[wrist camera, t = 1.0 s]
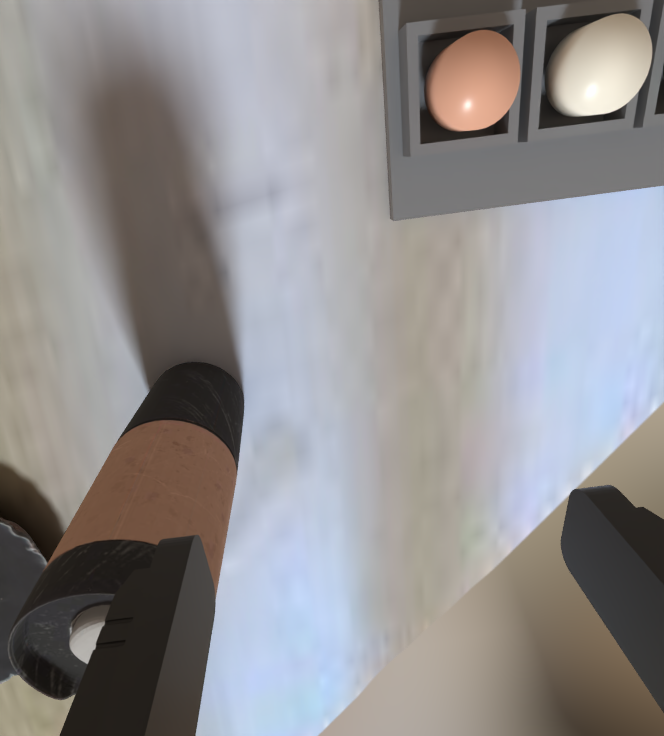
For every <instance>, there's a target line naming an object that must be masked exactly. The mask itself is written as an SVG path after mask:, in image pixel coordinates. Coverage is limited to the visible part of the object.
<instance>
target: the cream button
mask: <svg viewBox="0 0 664 736" xmlns="http://www.w3.org/2000/svg"><path fill="white" fill-rule="evenodd" d="M651 60H652V42H651V37H650V34H649V32H648V30H647V28H646V26H645V25H644V24H643V23H642V21H640V20H639V19H638V18H636V17H635V16H632V15H629V14H624V13H621V14H613V15H610V16H607V17H605V18H602V19H600V20H597V21H595V22H593V23H590V24H588V25H585V26H583V27H581V28H578V29H576V30H574V31H572V32H571V33H569V34H568V35H567V36H566V37H565V38H563V39H562V41H561V42H560V43H559V44H558V45H557V47H556V48H555V50H554V51H553V53H552V55H551V57H550V59H549V62H548V65H547V68H546V73H545V90H546V95H547V98H548V100H549V102H550V104H551V105H552V107H553V108H554V109H555V110H556V111H557V112H559V113H560V114H562V115H565V116H568V117H580V116H589V115H598V114H606V113H610V112H613V111H615V110H617V109H619V108H621V107H622V106H624V105H625V104H627V103H628V102H629V101H630V100H631V99H632V98H633V97H634V96H635V95H636V94H637V92H638V91H639V90H640V88H641V87H642V85H643V83H644V81H645V79H646V77H647V75H648V72H649V69H650V65H651Z"/></svg>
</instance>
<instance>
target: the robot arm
mask: <svg viewBox="0 0 664 736" xmlns="http://www.w3.org/2000/svg"><path fill="white" fill-rule="evenodd" d="M561 550H562V554H563V558H564V561H565V563H566V565H567V567H568V569H569V571H570V572H571V574H572V575H573V577H574V578H575V580H576V581H577V583H578V584H579V586H580V587H581V589H582V590H583V592H584V593H585V595H586V596H587V598H588V599H589V601H590V603H591V604H592V605H593V607H594V609H595V610H596V612H597V613H598V615H599V616H600V617H601V619H602V621H603V622H604V624H605V625H606V627H607V628H608V630H609V631H610V633H611V634H612V636H613V637H614V639H615V640H616V642H617V643H618V645H619V646H620V648H621V649H622V651H623V652H624V654H625V655H626V657H627V658H628V660H629V661H630V663H631V664H632V666H633V667H634V669H635V670H636V672H637V673H638V675H639V676H640V678H641V679H642V681H643V682H644V684H645V685H646V687H647V688H648V690H649V691H650V693H651V694H652V696H653V697H654V699H655V701H656V702H657V704H658V705H659V706H660V708H661V710H662V711H663V713H664V519H662V518H660V517H659V516H657V515H655V514H654V513H652V512H651V511H649V510H647V509H646V508H644V507H638V508H636V507H635V506H633V504H632V503H631V502H630V501H629V500H628V499H627V498H626V497H625V496H624V495H623V494H622V493H621V492H620V491H619V490H618V489H617V488H615V487H614V486H611V485H605V486H597V487H589V488H582V489H574V490H573V491H572V492H571V493H570V496H569V501H568V506H567V511H566V516H565V521H564V527H563V531H562V536H561ZM214 615H215V588H214V582H213V579H212V575H211V572H210V568H209V565H208V561H207V558H206V554H205V551H204V547H203V544H202V541H201V538H200V536H199V535H191V536H183V537H175V538H167V539H162V540H160V541H159V543H158V545H157V548H156V551H155V554H154V557H153V560H152V563H151V566H150V568H144V569H136V570H134V571H133V572H132V573H131V575H130V576H129V577H128V578H127V580H126V581H125V582H124V583H123V585H122V586H121V587H120V588H119V589H118V591H117V592H116V593H115V595H114V598H113V600H112V603H111V605H110V608H109V611H108V613H107V616H106V618H105V625H104V626H102V628H101V631H100V634H99V636H98V639H97V641H96V648H95V650H93V652H92V654H91V657H90V659H89V662H88V664H87V667H86V669H85V672H84V675H83V677H82V680H81V682H80V685H79V687H78V690H77V692H76V695H75V698H74V700H73V703H72V705H71V708H70V710H69V713H68V715H67V718H66V721H65V723H64V726H63V728H62V731H61V733H60V736H195V734H196V728H197V722H198V716H199V709H200V703H201V697H202V691H203V684H204V678H205V672H206V666H207V659H208V653H209V647H210V641H211V634H212V628H213V622H214Z"/></svg>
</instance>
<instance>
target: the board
mask: <svg viewBox="0 0 664 736" xmlns="http://www.w3.org/2000/svg"><path fill="white" fill-rule="evenodd" d="M47 564H48V562H47V561H46V559H45V558H44V556H43V555H42V554H41V553H40V550H39V549H38V547H37V546H36V544H35V543H34V541H33V540H32V538H31V537H30V536H29V534H28V533H27V532H26V531H25V530H24V529H23V528H22V527H20V526H19V525H18V524H16V523H15V522H12V521H8V520H5V519H3V518H1V517H0V684H2V683H3V682H5V681H8V680H9V679H10V678H11V677H12V676H13V675H15V676H16V675H18V673H17V672H16V671H15V669H14V668H13V666H12V664H11V662H10V659H9V656H8V650H7V647H8V637H9V634H10V631H11V628H12V626H13V624H14V622H15V620H16V618H17V616H18V615H19V613H20V611H21V609H22V607H23V606H24V604H25V602H26V600H27V599H28V597H29V595H30V593H31V592H32V590H33V588H34V586H35V585H36V583H37V581H38V579H39V578H40V576H41V574H42V572H43V571H44V569H45V567H46V565H47Z"/></svg>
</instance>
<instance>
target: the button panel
mask: <svg viewBox="0 0 664 736" xmlns="http://www.w3.org/2000/svg"><path fill="white" fill-rule="evenodd" d="M379 12H380V31H381V50H382V69H383V88H384V107H385V126H386V144H387V163H388V182H389V201H390V219H391V220H393V221H396V220H404V219H412V218H419V217H427V216H435V215H442V214H450V213H457V212H465V211H473V210H480V209H488V208H496V207H503V206H511V205H519V204H526V203H534V202H541V201H549V200H557V199H564V198H572V197H580V196H587V195H595V194H602V193H610V192H618V191H625V190H633V189H641V188H648V187H656V186H664V77H663V68H664V0H379ZM621 13H624V14H629V15H632V16H635V17H636V18H638V19H639V20H640V21H642V23H643V24H644V25H645V26H646V28H647V30H648V32H649V34H650V37H651V42H652V60H651V65H650V69H649V72H648V75H647V77H646V79H645V81H644V83H643V85H642V87H641V88H640V90H639V91H638V92H637V94H636V95H635V96H634V97H633V98H632V99H631V100H630V101H629V102H628V103H627V104H625V105H624V106H622V107H621V108H619V109H617V110H615V111H613V112H610V113H606V114H598V115H589V116H580V117H568V116H565V115H562V114H560V113H559V112H557V111H556V110H555V109H554V108H553V107H552V105H551V104H550V102H549V100H548V98H547V95H546V90H545V73H546V68H547V65H548V62H549V59H550V57H551V55H552V53H553V51H554V50H555V48H556V47H557V45H558V44H559V43H560V42H561V41H562V39H563V38H565V37H566V36H567V35H568V34H569V33H571V32H572V31H574V30H576V29H578V28H581V27H583V26H585V25H588V24H590V23H593V22H595V21H597V20H600V19H602V18H605V17H607V16H610V15H613V14H621ZM478 30H490V31H494V32H497V33H499V34H501V35H503V36H504V37H505V38H506V39H507V40H508V41H509V42H510V43H511V44H512V46H513V47H514V49H515V51H516V53H517V56H518V59H519V63H520V84H519V88H518V92H517V95H516V97H515V100H514V102H513V104H512V105H511V107H510V108H509V110H508V111H507V113H506V114H505V115H504V116H503V117H502V118H501V119H500V120H498V121H497V122H496V123H494V124H493V125H491V126H489V127H486V128H483V129H479V130H471V131H460V132H455V131H449V130H446V129H444V128H442V127H441V126H439V125H438V124H437V123H436V122H435V121H434V120H433V119H432V117H431V116H430V114H429V112H428V110H427V107H426V104H425V99H424V84H425V79H426V75H427V72H428V70H429V67H430V65H431V64H432V62H433V60H434V59H435V58H436V56H437V55H438V54H439V53H440V52H441V51H442V50H443V49H445V48H446V47H448V46H449V45H451V44H452V43H454V42H455V41H457V40H458V39H460V38H461V37H463V36H465V35H467V34H469V33H471V32H474V31H478Z"/></svg>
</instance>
